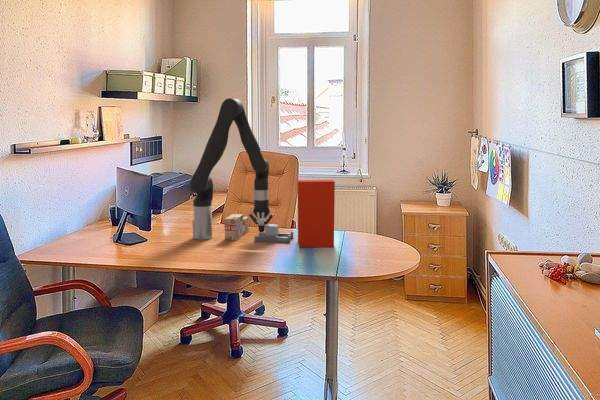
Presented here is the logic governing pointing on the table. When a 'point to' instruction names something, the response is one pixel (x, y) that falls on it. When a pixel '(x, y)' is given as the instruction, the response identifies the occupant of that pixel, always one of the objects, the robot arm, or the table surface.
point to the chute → (281, 237)
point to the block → (271, 230)
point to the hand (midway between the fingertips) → (261, 232)
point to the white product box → (236, 226)
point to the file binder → (316, 213)
